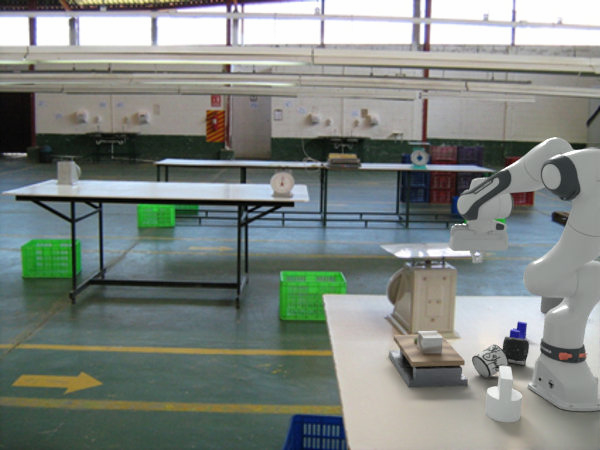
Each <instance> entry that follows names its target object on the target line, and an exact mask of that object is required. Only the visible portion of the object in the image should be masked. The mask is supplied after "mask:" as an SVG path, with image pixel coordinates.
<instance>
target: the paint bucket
mask: <svg viewBox="0 0 600 450" xmlns="http://www.w3.org/2000/svg"><path fill="white" fill-rule="evenodd" d="M502 343H503V344H502V348H501V347H500V346H499V345H497V344H491V345H490V346H488V347H486V348H485V349H483V350H481V351H479V352H478V353H477V354H475V355H474V356H472V358H471V362H472V365H473V367H474V369H475V370H476V372H477V373H478V374H479V376H481V377H482V378H484V379H489V378H490V377H492V376H493V375H496V374H497V373H499V366H508V367H509V363H510V364H516V365H521V366H526V364H527V358H528V355H529V350H530V343H529V341H528V340H527V339H526V338H525V339H519V338H518V339H516V338H514V337H512V338H511V337H509V336H505V337H504V339H503V342H502Z"/></svg>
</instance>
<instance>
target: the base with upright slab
mask: <svg viewBox="0 0 600 450" xmlns="http://www.w3.org/2000/svg"><path fill="white" fill-rule="evenodd" d="M497 381H498V382H497V386H496V385H495V386H491V387H488V388H487V390H486V397H485V398H486V399H485V409H484V411H485V412H484V413H485V415H487V417H489V418H491V419H492V420H495V421H497V422H501V423H514V422H515V421H516V422H517V421H519V420H520V419H521V412H522V402H523V400H522V399H523V395H522V393H521V392H520V391H519V390H518V389H517V390H516V389H514V388H513V381H514V376H513V372H512V367H511V366H509V365H508V366H499V372H498V380H497Z"/></svg>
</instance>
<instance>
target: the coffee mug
mask: <svg viewBox="0 0 600 450" xmlns="http://www.w3.org/2000/svg"><path fill="white" fill-rule="evenodd" d="M563 299H564V298H548V297H542V296H541V300H540V301H541V302H540V310H539V311H540V312H541V313H543V314H545V315H546V314H547V312H548V311H549V310H551V309H552V308H554V307H556V306H558V305H559V304H560V303H561V302H562V301H563Z"/></svg>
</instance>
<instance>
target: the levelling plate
mask: <svg viewBox="0 0 600 450" xmlns="http://www.w3.org/2000/svg"><path fill="white" fill-rule="evenodd" d="M393 341H394V342H395V344H396V345H397V347H398V349H399V350H401V351H402V353H403V354H404V356H405V357H406V359H407V360H408V361H409V363H410V364H411V366H412V367H420V366H459V365H460V366H465V362H466V361H465V359H464V358H463V357H462V355H460V354H459V353H458V352H457V351H456V349H455V348H454V347H453V346H452V345H451V343H449V341H447V340H446V338H445V337H444V336H443V335H442V334H441V333H439V332H438V330H418V331H417V334H394V335H393Z"/></svg>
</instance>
